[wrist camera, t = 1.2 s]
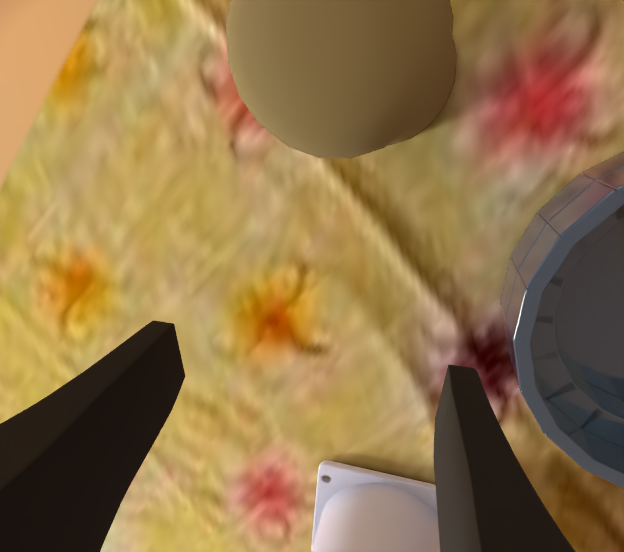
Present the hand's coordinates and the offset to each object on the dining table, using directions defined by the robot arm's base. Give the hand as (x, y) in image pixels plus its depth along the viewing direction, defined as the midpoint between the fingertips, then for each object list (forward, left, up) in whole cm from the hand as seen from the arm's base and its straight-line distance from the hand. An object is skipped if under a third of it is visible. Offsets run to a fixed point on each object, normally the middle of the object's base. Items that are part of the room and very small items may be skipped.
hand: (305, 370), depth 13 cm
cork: (+8, 0, -11) cm, 14 cm away
